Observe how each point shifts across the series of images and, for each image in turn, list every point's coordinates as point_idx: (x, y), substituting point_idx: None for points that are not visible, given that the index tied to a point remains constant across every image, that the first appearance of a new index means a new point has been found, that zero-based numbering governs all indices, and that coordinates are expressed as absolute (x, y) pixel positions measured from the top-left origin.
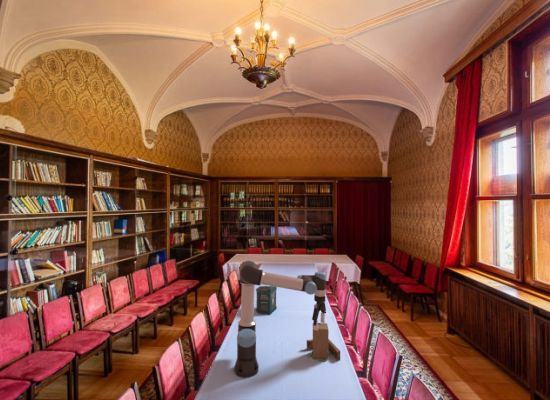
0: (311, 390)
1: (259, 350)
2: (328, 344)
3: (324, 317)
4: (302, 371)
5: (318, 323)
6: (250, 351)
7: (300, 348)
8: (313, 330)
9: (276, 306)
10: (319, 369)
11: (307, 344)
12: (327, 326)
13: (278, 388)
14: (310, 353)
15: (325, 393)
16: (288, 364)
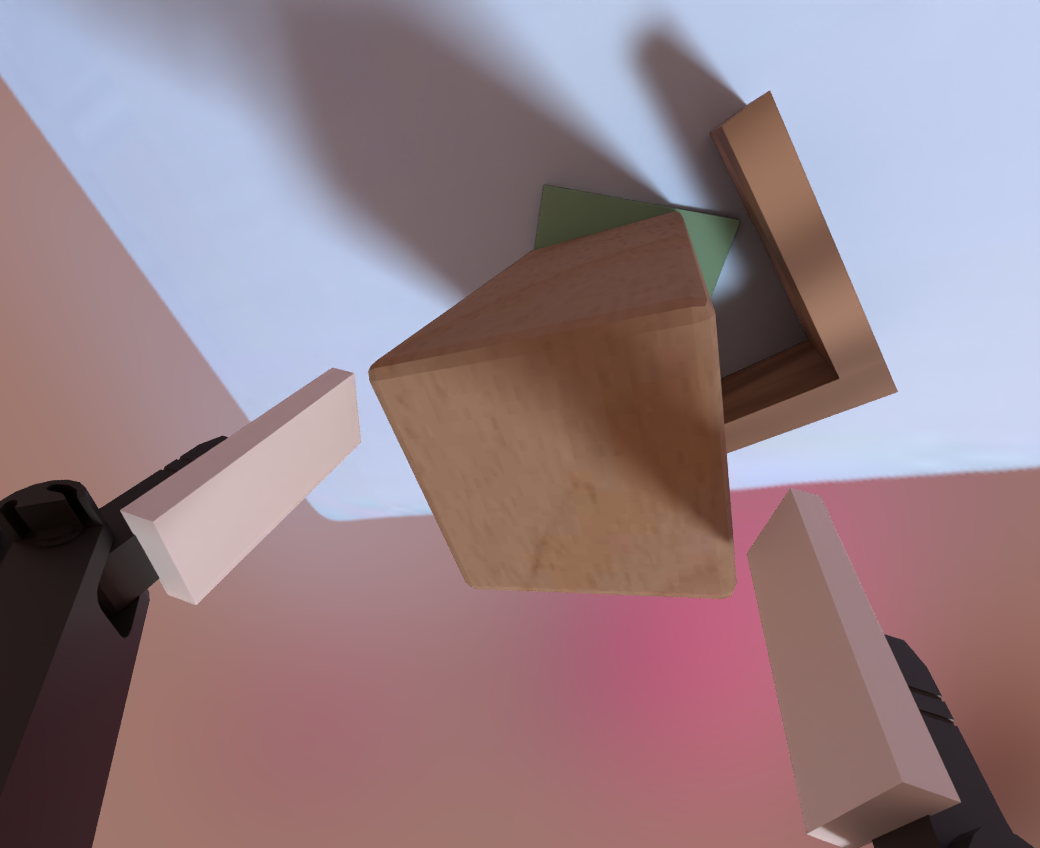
0: (205, 311)
1: None
2: (749, 397)
3: (784, 687)
4: (321, 200)
5: (670, 451)
6: None
7: (736, 4)
8: (385, 354)
9: None
10: (410, 328)
11: (722, 124)
12: (573, 591)
13: (60, 75)
14: (616, 198)
15: (237, 386)
16: (336, 2)
